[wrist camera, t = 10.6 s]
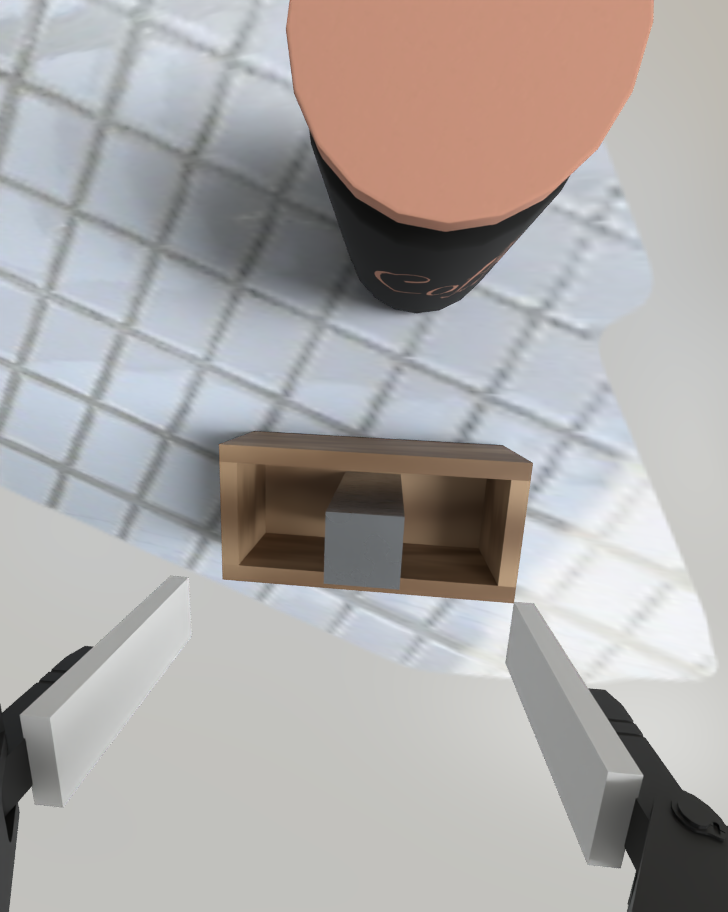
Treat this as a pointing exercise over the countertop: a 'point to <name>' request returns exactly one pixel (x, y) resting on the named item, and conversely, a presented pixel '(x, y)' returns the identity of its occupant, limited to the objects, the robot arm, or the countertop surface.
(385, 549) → the steel bar
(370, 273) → the coffee jar
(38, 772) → the robot arm
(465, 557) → the trough
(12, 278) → the countertop surface
